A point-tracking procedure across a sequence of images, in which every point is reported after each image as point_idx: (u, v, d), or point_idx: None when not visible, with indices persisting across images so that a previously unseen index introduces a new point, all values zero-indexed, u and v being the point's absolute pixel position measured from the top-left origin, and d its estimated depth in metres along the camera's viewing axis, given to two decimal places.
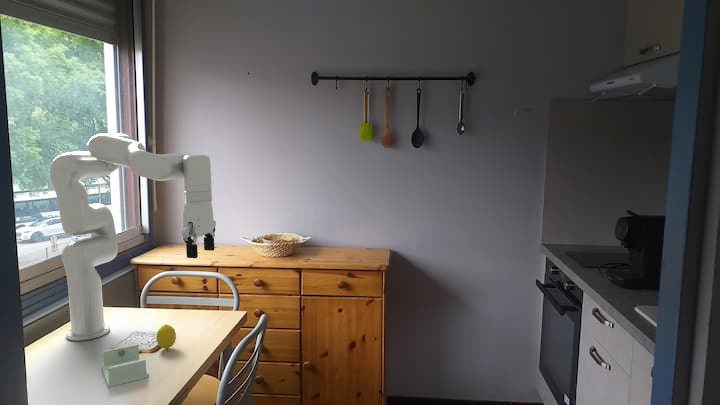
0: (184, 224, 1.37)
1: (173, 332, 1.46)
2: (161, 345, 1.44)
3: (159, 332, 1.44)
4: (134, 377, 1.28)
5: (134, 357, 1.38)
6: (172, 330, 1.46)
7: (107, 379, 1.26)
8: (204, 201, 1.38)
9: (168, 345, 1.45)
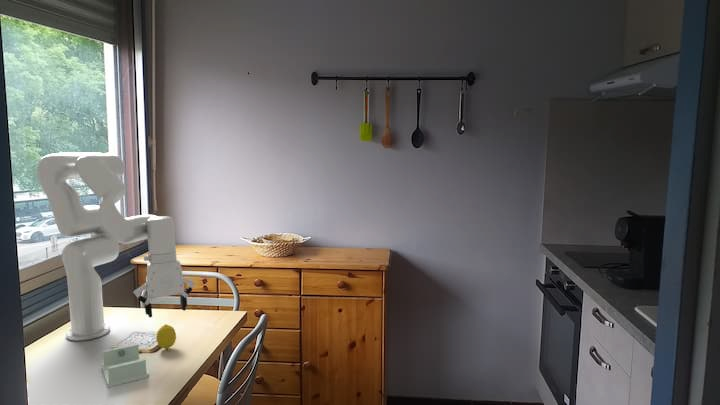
0: (183, 280, 1.45)
1: (173, 332, 1.46)
2: (161, 345, 1.44)
3: (159, 332, 1.44)
4: (134, 377, 1.28)
5: (134, 357, 1.38)
6: (172, 330, 1.46)
7: (107, 379, 1.26)
8: None
9: (168, 345, 1.45)
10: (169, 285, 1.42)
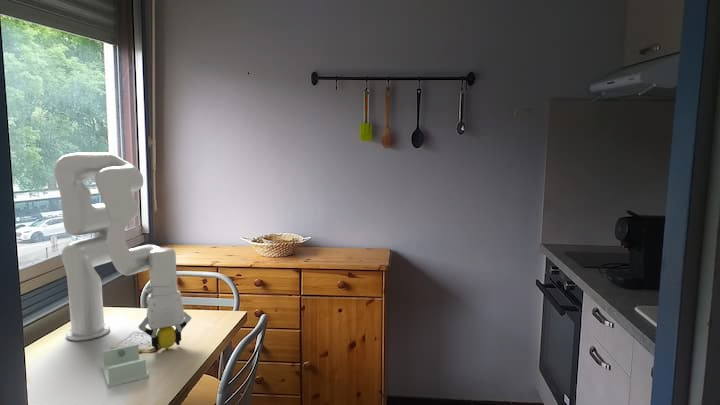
0: (183, 311, 1.46)
1: (173, 332, 1.46)
2: (161, 345, 1.44)
3: (159, 332, 1.44)
4: (134, 377, 1.28)
5: (134, 357, 1.38)
6: (172, 330, 1.46)
7: (107, 379, 1.26)
8: None
9: (168, 345, 1.45)
10: (169, 316, 1.43)
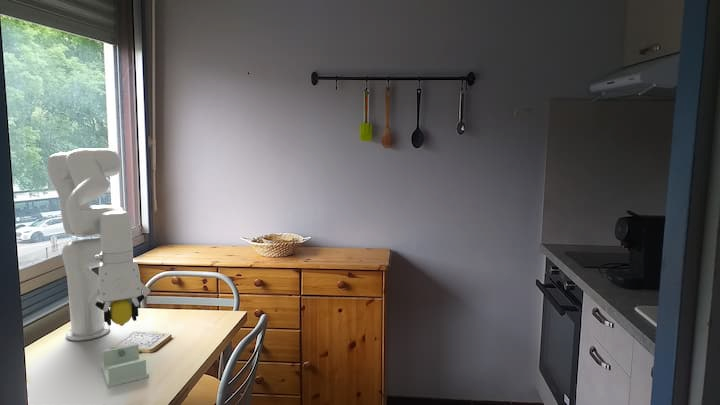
0: (140, 282, 1.30)
1: (128, 306, 1.29)
2: (114, 320, 1.28)
3: (112, 306, 1.28)
4: (134, 377, 1.28)
5: (134, 357, 1.38)
6: (127, 304, 1.29)
7: (107, 379, 1.26)
8: None
9: (122, 320, 1.28)
10: (123, 288, 1.27)
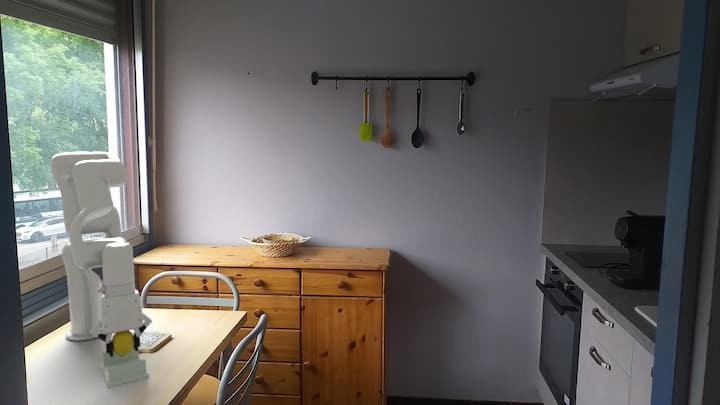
0: (142, 313, 1.31)
1: (130, 337, 1.30)
2: (117, 352, 1.29)
3: (114, 337, 1.29)
4: (134, 377, 1.28)
5: (134, 357, 1.38)
6: (129, 335, 1.30)
7: (107, 379, 1.26)
8: None
9: (125, 352, 1.29)
10: (125, 319, 1.28)
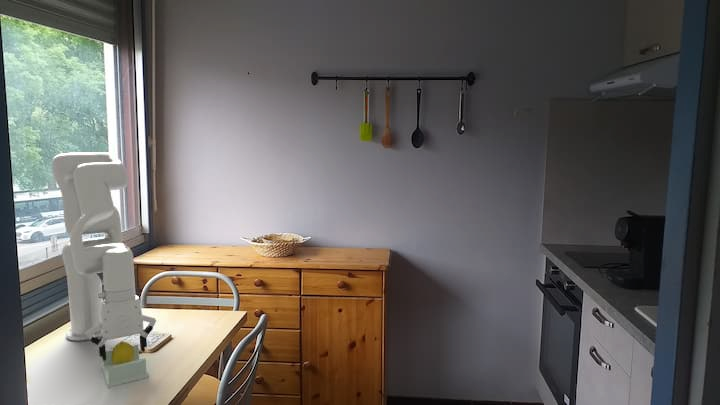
0: (142, 318, 1.31)
1: (130, 350, 1.31)
2: None
3: (114, 350, 1.29)
4: (134, 377, 1.28)
5: (134, 357, 1.38)
6: (129, 348, 1.31)
7: (107, 379, 1.26)
8: None
9: None
10: (126, 325, 1.28)
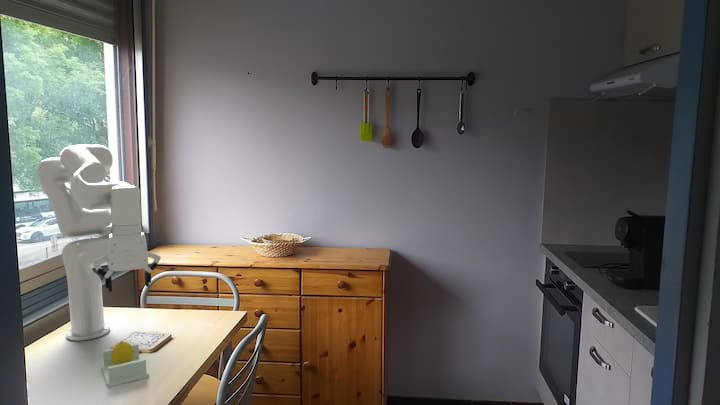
0: (147, 254, 1.36)
1: (130, 350, 1.31)
2: (116, 364, 1.29)
3: (114, 350, 1.29)
4: (134, 377, 1.28)
5: (134, 357, 1.38)
6: (129, 347, 1.31)
7: (107, 379, 1.26)
8: None
9: None
10: (131, 259, 1.33)
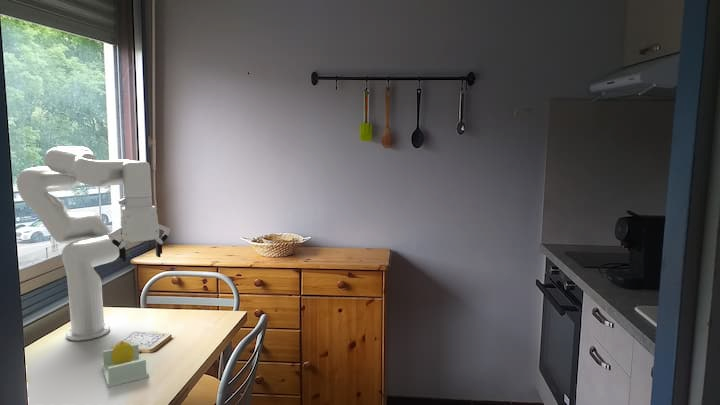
0: (158, 226, 1.44)
1: (130, 350, 1.31)
2: (116, 364, 1.29)
3: (114, 350, 1.29)
4: (134, 377, 1.28)
5: (134, 357, 1.38)
6: (129, 347, 1.31)
7: (107, 379, 1.26)
8: None
9: None
10: (143, 230, 1.41)
